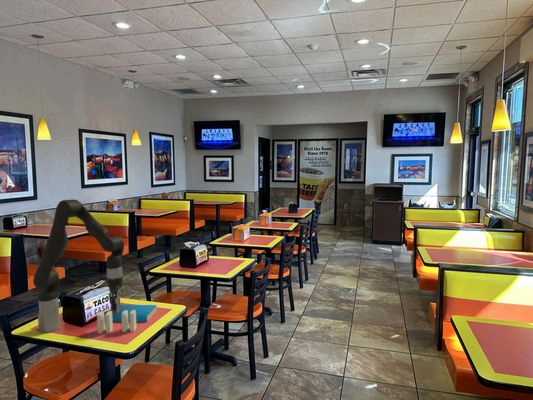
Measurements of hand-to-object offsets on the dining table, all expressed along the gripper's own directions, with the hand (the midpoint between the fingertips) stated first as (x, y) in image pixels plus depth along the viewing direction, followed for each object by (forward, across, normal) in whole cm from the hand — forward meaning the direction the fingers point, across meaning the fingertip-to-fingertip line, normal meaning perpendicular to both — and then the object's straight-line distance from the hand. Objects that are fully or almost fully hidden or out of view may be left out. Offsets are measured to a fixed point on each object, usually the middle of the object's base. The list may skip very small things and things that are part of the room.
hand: (116, 308), depth 190 cm
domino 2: (+16, -10, -7) cm, 20 cm away
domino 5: (+16, -10, +6) cm, 20 cm away
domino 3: (+2, 0, 0) cm, 2 cm away
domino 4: (+16, -10, +1) cm, 19 cm away
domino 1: (+16, -10, -11) cm, 22 cm away
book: (+17, -29, 0) cm, 34 cm away
